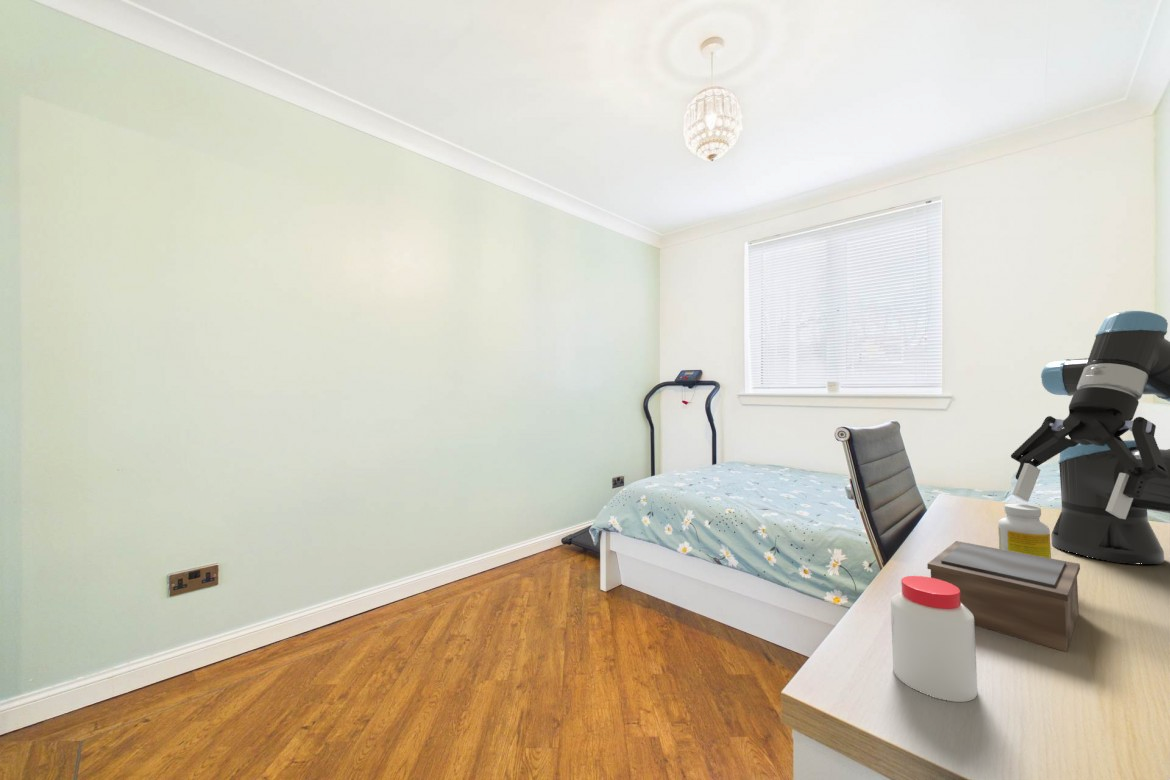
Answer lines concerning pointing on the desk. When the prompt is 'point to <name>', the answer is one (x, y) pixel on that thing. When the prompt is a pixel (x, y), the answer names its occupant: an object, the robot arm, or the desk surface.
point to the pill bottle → (934, 639)
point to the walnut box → (1013, 591)
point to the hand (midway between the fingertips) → (1063, 506)
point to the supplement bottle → (1024, 531)
